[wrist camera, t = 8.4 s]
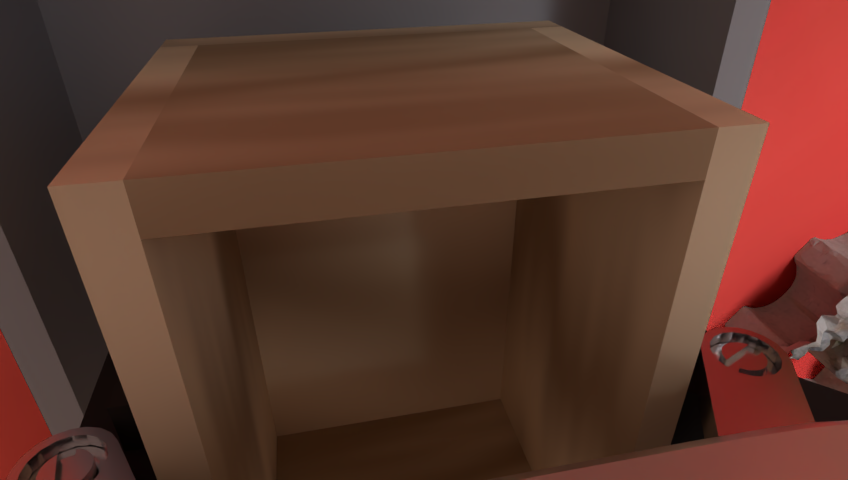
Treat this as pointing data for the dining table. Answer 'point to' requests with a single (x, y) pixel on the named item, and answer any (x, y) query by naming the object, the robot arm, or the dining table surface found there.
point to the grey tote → (223, 17)
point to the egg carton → (810, 311)
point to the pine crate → (404, 250)
